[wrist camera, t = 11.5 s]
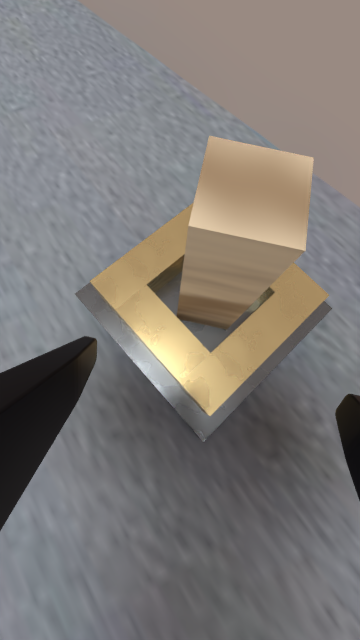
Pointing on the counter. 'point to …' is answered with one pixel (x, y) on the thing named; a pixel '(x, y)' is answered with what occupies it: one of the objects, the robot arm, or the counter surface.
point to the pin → (242, 229)
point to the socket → (198, 328)
